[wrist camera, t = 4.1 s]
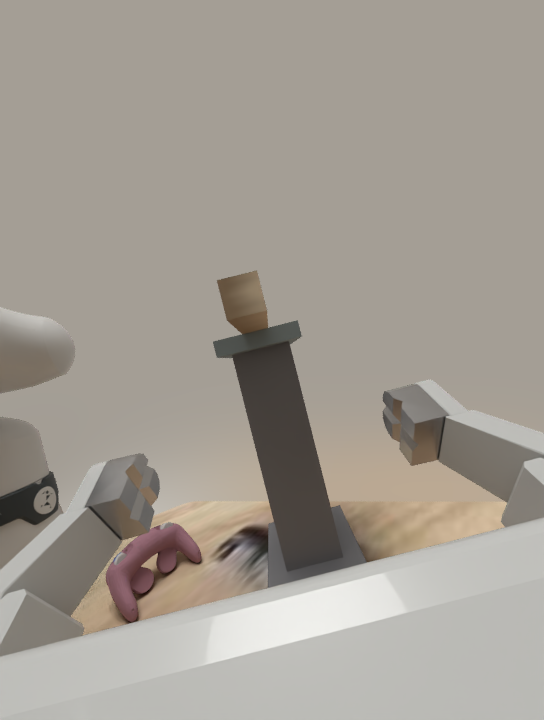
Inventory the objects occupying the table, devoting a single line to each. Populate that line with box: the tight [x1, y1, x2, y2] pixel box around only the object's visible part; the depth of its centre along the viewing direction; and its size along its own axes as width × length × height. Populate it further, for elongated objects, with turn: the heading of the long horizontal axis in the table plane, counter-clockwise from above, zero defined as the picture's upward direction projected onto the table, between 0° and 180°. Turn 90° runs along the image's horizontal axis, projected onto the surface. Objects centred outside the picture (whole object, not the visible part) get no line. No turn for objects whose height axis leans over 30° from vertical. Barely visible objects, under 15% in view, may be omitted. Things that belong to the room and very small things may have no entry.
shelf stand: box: [213, 321, 367, 588], centre depth 31 cm, size 10×12×26 cm
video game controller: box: [106, 522, 201, 622], centre depth 33 cm, size 10×5×7 cm, turn 142°
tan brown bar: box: [217, 271, 268, 334], centre depth 27 cm, size 2×22×2 cm, turn 1°
